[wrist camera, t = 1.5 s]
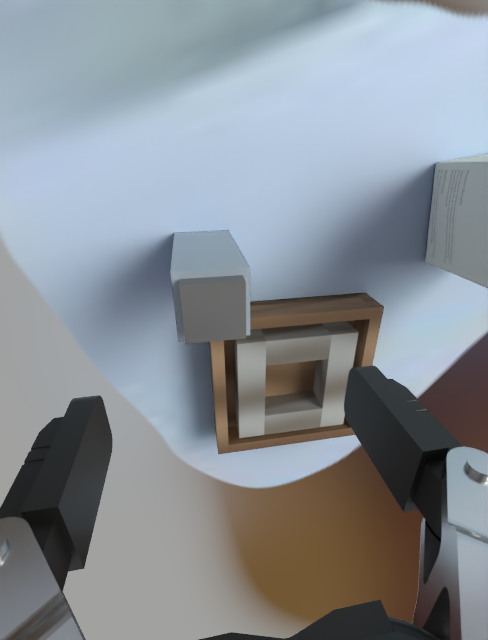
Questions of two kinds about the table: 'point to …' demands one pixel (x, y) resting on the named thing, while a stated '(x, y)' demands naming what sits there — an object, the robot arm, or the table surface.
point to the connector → (210, 287)
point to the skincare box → (460, 218)
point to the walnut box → (291, 370)
